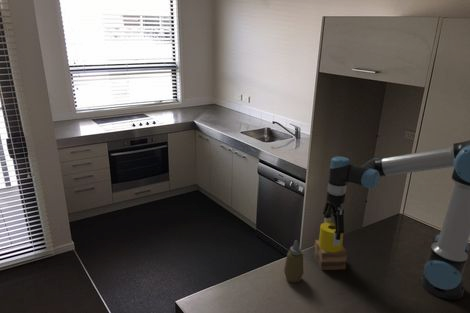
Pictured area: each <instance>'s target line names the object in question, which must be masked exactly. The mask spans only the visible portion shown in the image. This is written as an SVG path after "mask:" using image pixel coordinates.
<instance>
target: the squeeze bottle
mask: <svg viewBox="0 0 470 313" xmlns="http://www.w3.org/2000/svg"><path fill="white" fill-rule="evenodd" d="M283 269H284V271H283V272H284V275H285V278H286V280H287V281H288V282H289V283H293V284H295V283H299V282H300V281H301V279H302V278H303V276H304V254H303V252H302V248H301V247H300V245H299V240H294V242H293V245H292V246H290V248H289V251H288V252H287V254H286V260H285V266H284V268H283Z"/></svg>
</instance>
